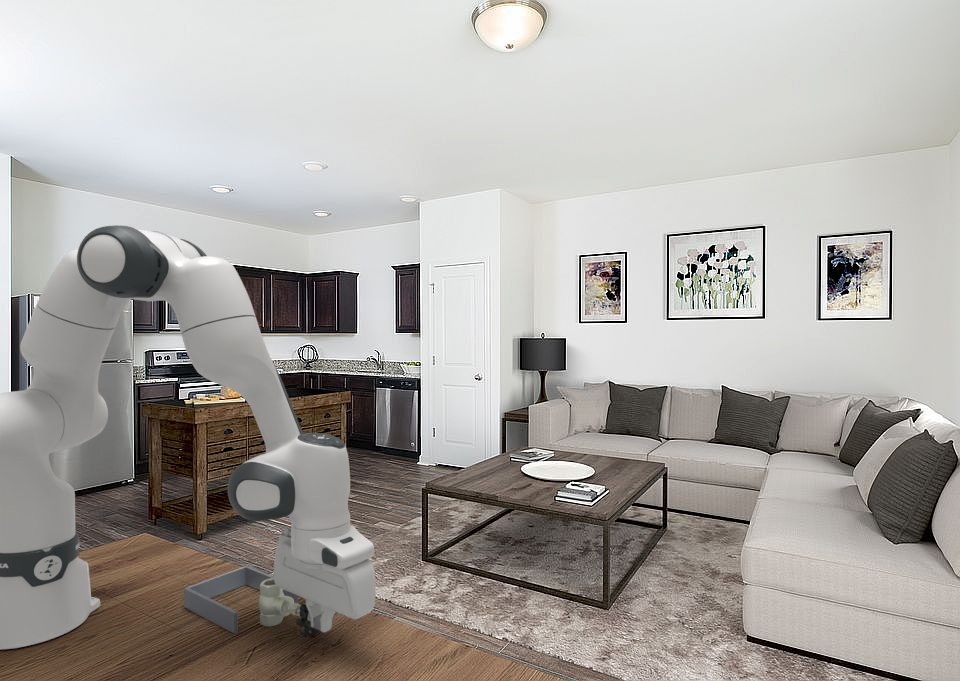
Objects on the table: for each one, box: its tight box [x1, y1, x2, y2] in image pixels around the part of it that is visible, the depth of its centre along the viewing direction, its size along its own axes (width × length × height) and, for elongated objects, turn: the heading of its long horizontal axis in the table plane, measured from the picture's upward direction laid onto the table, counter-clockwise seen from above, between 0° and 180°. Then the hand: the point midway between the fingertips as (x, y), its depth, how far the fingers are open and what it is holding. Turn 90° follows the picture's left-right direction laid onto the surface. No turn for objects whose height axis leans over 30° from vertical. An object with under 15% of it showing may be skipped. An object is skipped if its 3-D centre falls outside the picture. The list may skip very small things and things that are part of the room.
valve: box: [258, 578, 319, 638], centre depth 95 cm, size 7×7×12 cm
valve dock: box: [183, 565, 299, 635], centre depth 103 cm, size 16×12×3 cm
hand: (321, 628), depth 90 cm, fingers closed
